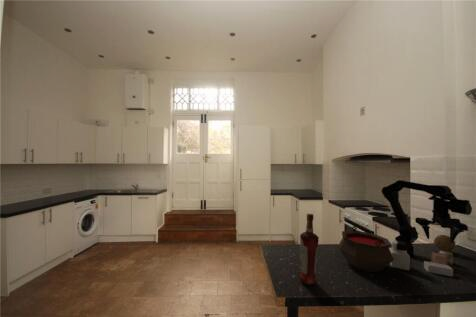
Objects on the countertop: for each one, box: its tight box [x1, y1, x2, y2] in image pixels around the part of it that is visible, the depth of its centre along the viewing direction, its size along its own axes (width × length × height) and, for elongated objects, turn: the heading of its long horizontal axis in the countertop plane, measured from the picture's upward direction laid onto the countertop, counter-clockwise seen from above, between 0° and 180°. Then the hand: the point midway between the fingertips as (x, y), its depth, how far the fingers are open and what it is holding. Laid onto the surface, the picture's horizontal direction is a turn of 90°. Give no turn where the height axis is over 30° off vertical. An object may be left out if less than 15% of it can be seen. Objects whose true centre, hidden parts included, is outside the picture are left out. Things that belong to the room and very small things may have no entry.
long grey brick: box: [423, 260, 454, 277], centre depth 100 cm, size 9×4×4 cm, turn 68°
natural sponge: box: [433, 234, 456, 253], centre depth 125 cm, size 9×9×10 cm
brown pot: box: [339, 225, 394, 273], centre depth 104 cm, size 24×24×16 cm
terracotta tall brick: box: [430, 251, 448, 265], centre depth 106 cm, size 4×4×6 cm
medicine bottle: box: [389, 240, 411, 271], centre depth 104 cm, size 7×7×12 cm
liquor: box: [298, 213, 320, 286], centre depth 87 cm, size 7×7×28 cm
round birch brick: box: [439, 250, 454, 266], centre depth 110 cm, size 5×5×5 cm
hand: (439, 240), depth 106 cm, fingers open, 9 cm apart
